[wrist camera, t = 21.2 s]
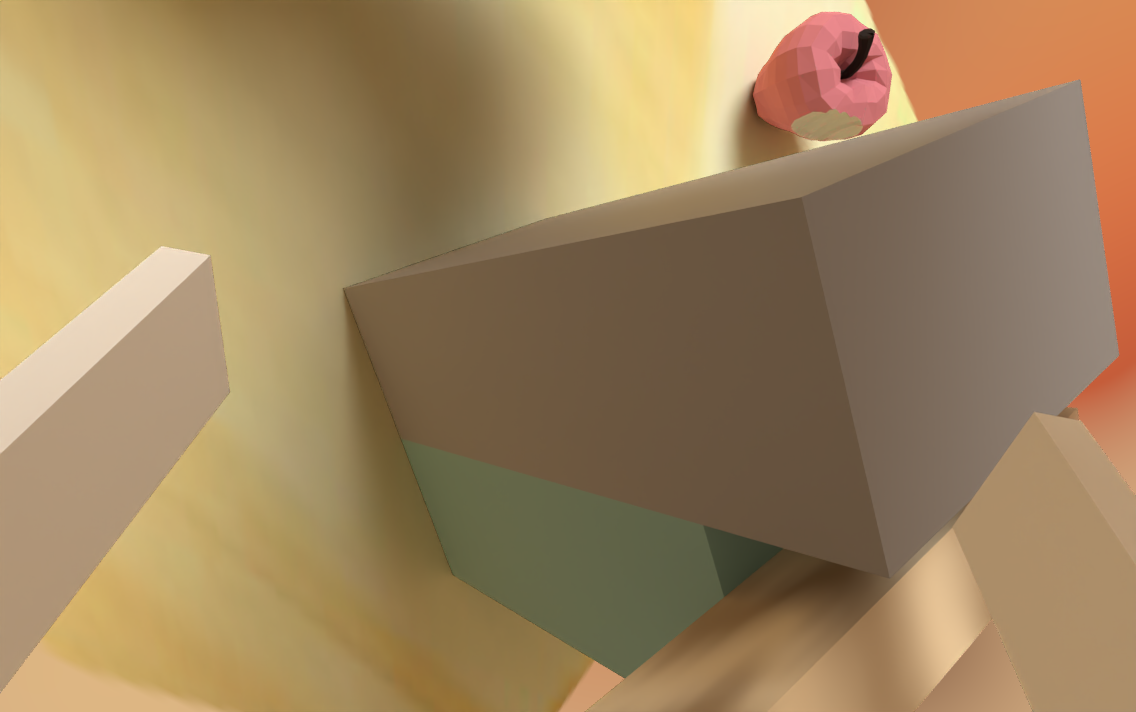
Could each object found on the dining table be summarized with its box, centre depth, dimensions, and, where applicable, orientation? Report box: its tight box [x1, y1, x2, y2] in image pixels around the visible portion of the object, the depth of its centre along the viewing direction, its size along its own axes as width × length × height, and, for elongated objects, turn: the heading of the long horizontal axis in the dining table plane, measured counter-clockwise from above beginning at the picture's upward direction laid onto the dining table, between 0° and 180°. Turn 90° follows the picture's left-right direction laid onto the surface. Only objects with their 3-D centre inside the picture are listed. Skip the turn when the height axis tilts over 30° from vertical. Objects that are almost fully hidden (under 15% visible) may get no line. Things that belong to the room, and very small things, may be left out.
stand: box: [343, 80, 1119, 678], centre depth 33 cm, size 14×18×30 cm
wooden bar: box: [585, 407, 1079, 712], centre depth 21 cm, size 23×6×5 cm, turn 109°
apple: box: [753, 12, 892, 141], centre depth 55 cm, size 10×9×10 cm
